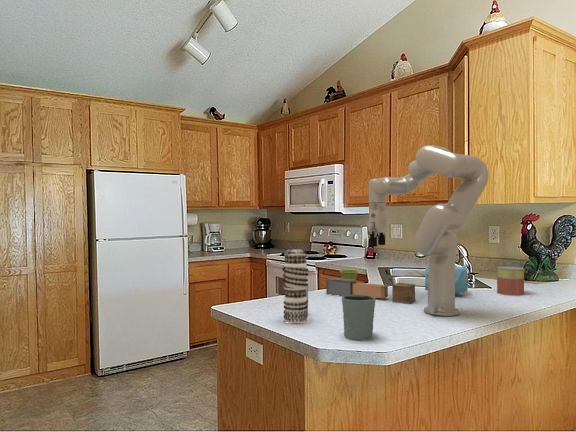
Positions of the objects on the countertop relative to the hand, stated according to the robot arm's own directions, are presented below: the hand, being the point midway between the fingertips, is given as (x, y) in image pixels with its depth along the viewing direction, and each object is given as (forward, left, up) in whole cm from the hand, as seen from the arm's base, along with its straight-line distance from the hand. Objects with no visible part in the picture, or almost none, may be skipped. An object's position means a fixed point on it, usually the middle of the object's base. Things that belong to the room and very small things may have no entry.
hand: (377, 245), depth 185 cm
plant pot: (+18, +22, -24) cm, 37 cm away
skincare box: (-43, +14, -24) cm, 51 cm away
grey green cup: (-57, -16, -24) cm, 64 cm away
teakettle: (+26, -24, -24) cm, 42 cm away
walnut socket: (0, -11, -23) cm, 26 cm away
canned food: (+44, -48, -24) cm, 69 cm away
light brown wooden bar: (0, +9, -23) cm, 25 cm away
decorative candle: (-52, +10, -24) cm, 58 cm away
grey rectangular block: (0, +18, -23) cm, 29 cm away
